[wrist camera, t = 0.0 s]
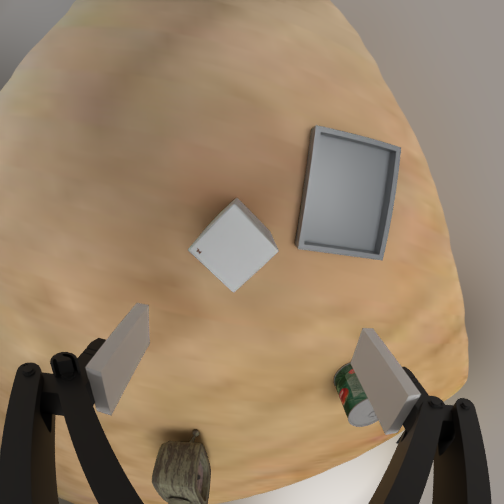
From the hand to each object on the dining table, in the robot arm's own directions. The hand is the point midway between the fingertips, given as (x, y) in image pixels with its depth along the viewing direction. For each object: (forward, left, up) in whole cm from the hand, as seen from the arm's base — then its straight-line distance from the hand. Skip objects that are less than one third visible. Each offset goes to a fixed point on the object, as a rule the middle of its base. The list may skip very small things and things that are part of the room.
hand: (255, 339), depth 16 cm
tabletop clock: (+51, -8, -28) cm, 59 cm away
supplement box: (-1, -2, -28) cm, 28 cm away
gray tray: (-9, +14, -28) cm, 33 cm away
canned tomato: (+25, +24, -28) cm, 44 cm away
